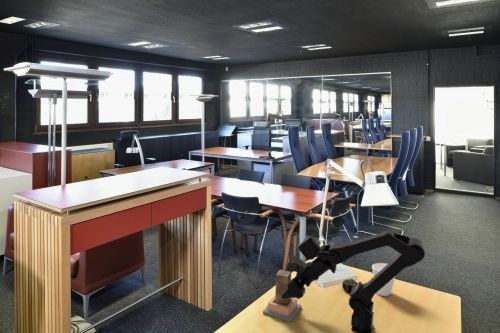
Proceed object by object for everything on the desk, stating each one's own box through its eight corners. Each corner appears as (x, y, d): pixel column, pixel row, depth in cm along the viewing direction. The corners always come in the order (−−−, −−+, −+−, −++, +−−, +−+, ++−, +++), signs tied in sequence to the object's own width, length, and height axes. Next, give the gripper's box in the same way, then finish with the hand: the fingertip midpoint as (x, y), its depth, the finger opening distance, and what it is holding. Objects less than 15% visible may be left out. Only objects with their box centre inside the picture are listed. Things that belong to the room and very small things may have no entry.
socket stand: (301, 307, 144) (301, 297, 143) (290, 321, 134) (290, 311, 133) (275, 300, 149) (275, 290, 148) (262, 313, 139) (263, 303, 138)
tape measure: (362, 293, 155) (362, 284, 155) (347, 295, 153) (348, 287, 153) (352, 285, 162) (353, 277, 161) (339, 287, 160) (339, 279, 159)
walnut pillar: (290, 306, 142) (291, 271, 140) (286, 312, 138) (287, 276, 136) (278, 303, 144) (279, 269, 142) (275, 309, 140) (275, 274, 138)
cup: (380, 300, 149) (382, 274, 148) (365, 289, 159) (366, 264, 157) (400, 296, 152) (402, 271, 151) (384, 285, 162) (386, 261, 160)
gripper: (307, 242, 143) (279, 265, 149) (293, 261, 126) (262, 285, 132) (326, 265, 142) (297, 287, 148) (316, 287, 125) (283, 310, 131)
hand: (285, 291), depth 140 cm, fingers open, 9 cm apart
